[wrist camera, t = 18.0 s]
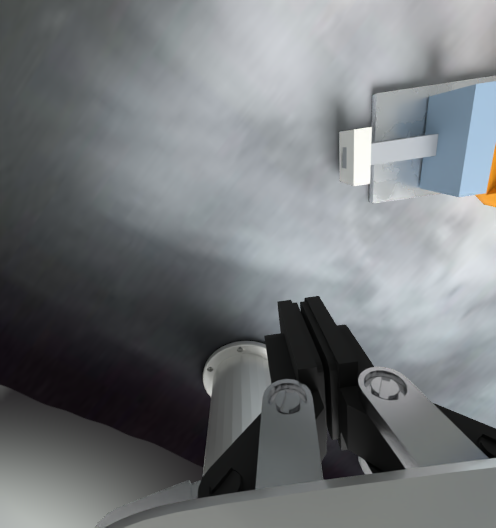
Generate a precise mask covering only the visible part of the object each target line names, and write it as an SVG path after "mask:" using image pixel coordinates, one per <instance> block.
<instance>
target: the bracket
mask: <svg viewBox="0 0 496 528" xmlns="http://www.w3.org/2000/svg"><path fill="white" fill-rule="evenodd" d="M476 197H477V198H478V199H479V200H480V201H481V202H482V203H483V204H485V205H489V206H493V207H496V144H495V149H494V154H493V160H492V165H491V170H490V175H489V181H488V186H487V191H486V193H484V194H477V195H476Z"/></svg>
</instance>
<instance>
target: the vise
mask: <svg viewBox="0 0 496 528" xmlns="http://www.w3.org/2000/svg"><path fill="white" fill-rule="evenodd" d="M493 81H496V75H495V76H488V77H482V78H475V79H468V80H462V81H455V82H448V83H442V84H435V85H428V86H422V87H415V88H408V89H401V90H395V91H388V92H381V93H376V94H374V95H372V125H371V127H372V139H371V143H374V142H381V141H388V140H395V139H402V138H409V137H416V136H422V135H425V131H426V121H427V111H428V101H429V96H433V95H437V94H441V93H444V92H448V91H452V90H456V89H459V88H463V87H467V86H471V85H474V84H479V83H486V82H493ZM422 161H423V158H417V159H410V160H403V161H396V162H389V163H382V164H375V165H371V169H370V187H369V202H371V203H379V202H386V201H393V200H400V199H407V198H414V197H422V196H429V195H436V194H443V193H438V192H434V191H429V190H425V189H420V181H421V171H422Z"/></svg>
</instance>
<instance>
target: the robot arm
mask: <svg viewBox="0 0 496 528" xmlns="http://www.w3.org/2000/svg"><path fill="white" fill-rule="evenodd" d="M300 308H301V312H300V309H299V307H298V304H297V303H292V301H291V300H287V301H279V302H278V311H279V320H280V329H281V333H280V334H273V335H266V336H265V344H266V345H265V344H263V343H259V342H255V341H238V342H233V343H230V344H227V345H225V346H223V347H221V348H219V349H218V350H216V351H215V352H214V353H213V354H212V355H211V356H210V357H209V359H208V360H207V362H206V364H205V367H204V371H203V384H204V388H205V389H206V391H207V393H208V394H209V395H210V397H211V404H210V414H209V423H208V433H207V442H206V452H205V461H204V471H203V477H202V480H200V481H197V482H195V483H192V484H190V481H189V480H188V481H185V482H183V483H180V484H177V485H175V486H172V487H170V488H167V489H165V490H162V491H159V492H157V493H154V494H152V495H149V496H146V497H144V498H141V499H139V500H136V501H133V502H131V503H129V504H126V505H123V506H121V507H118V508H116V509H115V510H113V511H111V512H109V513H108V514H107V515H106V516H105V517H104V518H102V520H101V521H99V522H98V524H97V525H96V527H95V528H496V429H495V428H493V427H490V426H488V425H485V424H483V423H481V422H478V421H476V420H473V419H471V418H468V417H466V416H464V415H461V414H459V413H456V412H454V411H451V410H449V409H446V408H444V407H442V406H439V405H437V404H434V403H432V402H431V401H430V400H429V399H428V398H427V397H426V396H425V395H424V394H423V393H422V392H421V391H420V390H419V389H418V388H417V387H416V386H415V385H414V384H413V383H412V382H411V381H410V380H409V379H408V378H407V377H405V376H404V375H403V374H401V373H399V372H397V371H395V370H393V369H390V368H386V367H374V366H373V364H372V363H371V361H370V360H369V358H368V357H367V355H366V354H365V352H364V351H363V349H362V348H361V346H360V345H359V343H358V342H357V340H356V339H355V337H354V336H353V334H352V333H351V331H350V330H349V328H348V327H347V326H346V325H338V326H337V325H336V324H335V322H334V320H333V319H332V317H331V315H330V314H329V312H328V310H327V309H326V307H325V306H324V304H323V302H322V301H321V299H320V297H319V296H315V297H308V298H305V302H300ZM327 428H328V431H329V434H330V436H331V439H332V440H333V439H337V440H338V443H339V445H340V448H341V450H349V451H351V452H353V453H354V454H356V455H358V460H359V463H360V465H361V468H362V469H363V471H364V473H365V475H359V476H352V477H344V478H337V479H329V480H323V475H322V467H321V461H322V459H323V458H324V456H325V455H326V453H327V443H326V440H327Z"/></svg>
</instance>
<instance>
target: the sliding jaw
mask: <svg viewBox="0 0 496 528" xmlns="http://www.w3.org/2000/svg"><path fill="white" fill-rule="evenodd" d="M371 139H372V127H367V128H361V129H354V130H347V131H341V132H339V166H340V182H343V183H346V184H349V185H352V186H358V185H365V184H370V169H371V165H375V164H382V163H389V162H396V161H403V160H410V159H417V158H423V161H422V171H421V181H420V189H425V190H429V191H434V192H438V193H443V194H447V195H452V196H456V197H463V196H470V195H477V194H484V193H486V191H487V186H488V181H489V175H490V170H491V165H492V160H493V154H494V149H495V144H496V81H493V82H486V83H479V84H474V85H471V86H467V87H463V88H459V89H456V90H452V91H448V92H444V93H441V94H437V95H433V96H429V101H428V111H427V121H426V131H425V135H422V136H416V137H409V138H402V139H395V140H388V141H381V142H374V143H371Z"/></svg>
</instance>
